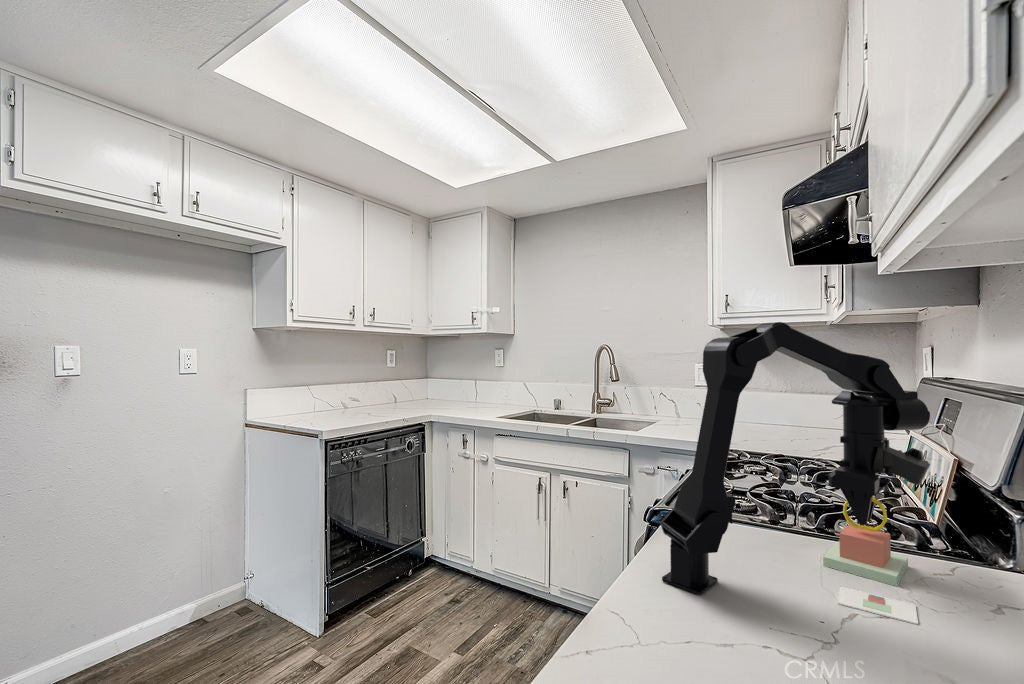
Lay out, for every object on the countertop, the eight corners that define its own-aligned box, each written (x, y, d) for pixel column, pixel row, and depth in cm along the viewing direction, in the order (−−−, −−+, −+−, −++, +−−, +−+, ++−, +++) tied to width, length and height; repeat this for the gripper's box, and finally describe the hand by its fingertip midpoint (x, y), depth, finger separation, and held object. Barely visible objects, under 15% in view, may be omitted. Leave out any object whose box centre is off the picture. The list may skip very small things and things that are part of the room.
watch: (886, 532, 82) (888, 497, 82) (885, 537, 80) (887, 501, 80) (843, 521, 86) (846, 488, 86) (841, 525, 84) (844, 491, 84)
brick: (883, 568, 79) (882, 543, 79) (839, 556, 83) (839, 533, 83) (890, 557, 83) (890, 533, 83) (848, 546, 87) (848, 524, 87)
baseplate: (896, 586, 76) (896, 576, 76) (823, 565, 83) (823, 556, 83) (908, 566, 83) (907, 557, 83) (839, 548, 90) (838, 540, 90)
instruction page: (918, 624, 65) (918, 623, 65) (837, 603, 71) (837, 602, 71) (915, 605, 70) (915, 604, 70) (840, 587, 75) (840, 586, 75)
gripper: (915, 445, 71) (916, 552, 71) (932, 430, 84) (933, 521, 83) (827, 435, 79) (827, 531, 79) (855, 423, 92) (856, 506, 92)
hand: (864, 522), depth 83 cm, fingers closed on watch, 2 cm apart
